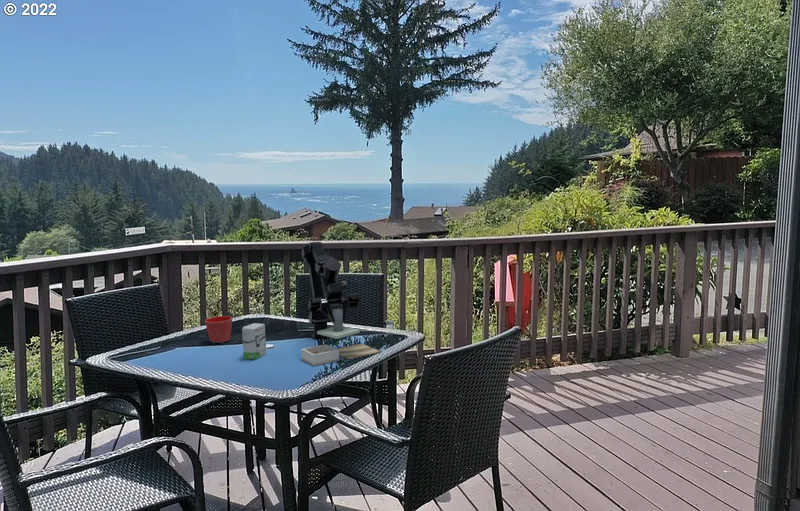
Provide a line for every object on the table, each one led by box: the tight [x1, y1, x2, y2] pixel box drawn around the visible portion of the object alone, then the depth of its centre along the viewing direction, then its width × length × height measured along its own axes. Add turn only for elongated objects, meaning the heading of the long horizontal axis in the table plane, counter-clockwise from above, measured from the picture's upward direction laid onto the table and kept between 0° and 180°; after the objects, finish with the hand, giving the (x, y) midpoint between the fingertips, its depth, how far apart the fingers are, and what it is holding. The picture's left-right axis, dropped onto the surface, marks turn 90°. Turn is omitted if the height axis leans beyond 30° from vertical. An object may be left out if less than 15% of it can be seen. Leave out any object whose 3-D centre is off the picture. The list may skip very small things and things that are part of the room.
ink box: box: [241, 322, 267, 361], centre depth 219 cm, size 9×5×12 cm, turn 162°
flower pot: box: [204, 315, 233, 342], centre depth 241 cm, size 11×11×10 cm
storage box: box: [300, 344, 340, 367], centre depth 212 cm, size 10×10×4 cm
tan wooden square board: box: [336, 343, 382, 360], centre depth 221 cm, size 14×14×1 cm
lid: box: [317, 307, 360, 340], centre depth 215 cm, size 11×11×9 cm
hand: (338, 321), depth 213 cm, fingers closed on lid, 4 cm apart
